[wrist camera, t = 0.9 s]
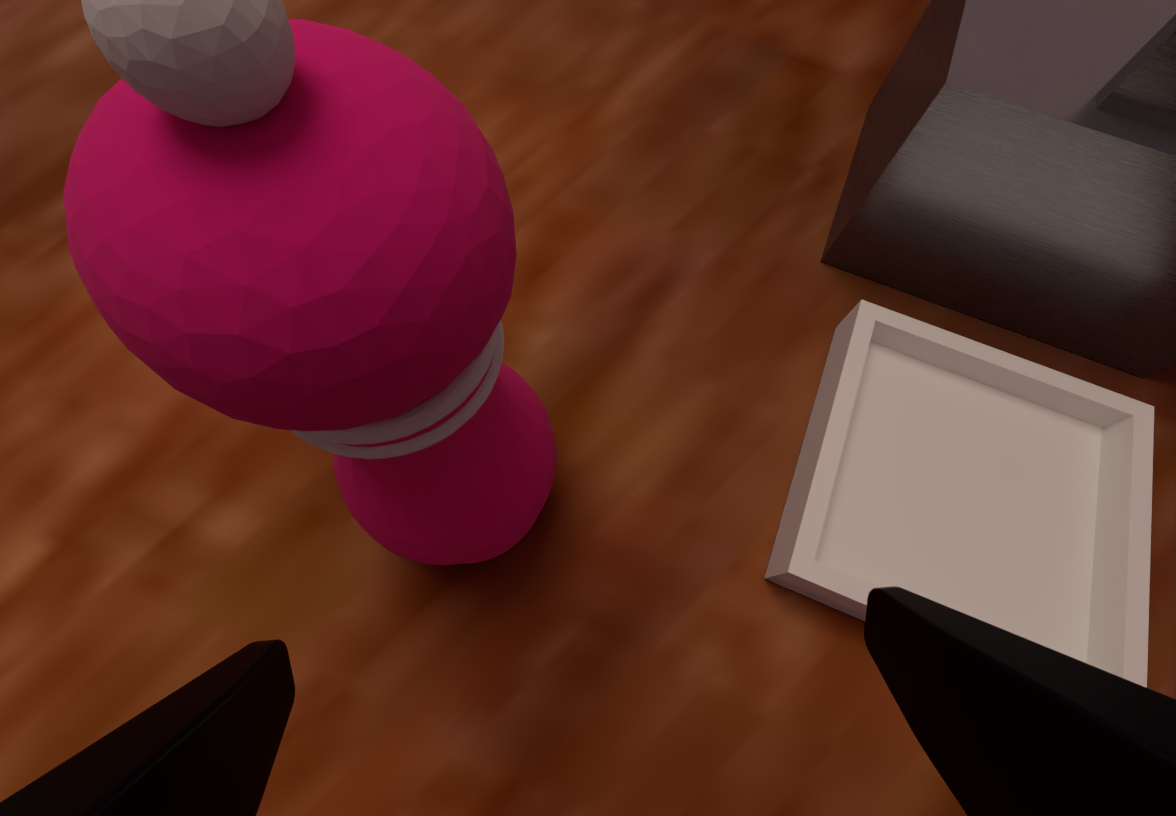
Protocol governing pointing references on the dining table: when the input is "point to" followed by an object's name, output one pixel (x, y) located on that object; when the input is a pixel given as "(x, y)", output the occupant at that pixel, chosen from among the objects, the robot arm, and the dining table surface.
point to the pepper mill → (314, 259)
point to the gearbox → (1027, 174)
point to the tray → (974, 490)
